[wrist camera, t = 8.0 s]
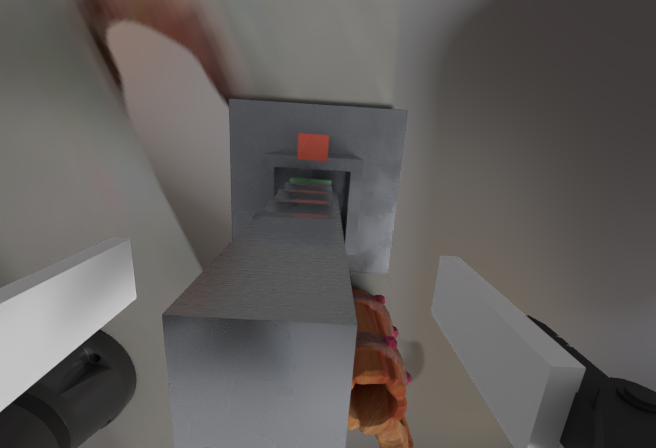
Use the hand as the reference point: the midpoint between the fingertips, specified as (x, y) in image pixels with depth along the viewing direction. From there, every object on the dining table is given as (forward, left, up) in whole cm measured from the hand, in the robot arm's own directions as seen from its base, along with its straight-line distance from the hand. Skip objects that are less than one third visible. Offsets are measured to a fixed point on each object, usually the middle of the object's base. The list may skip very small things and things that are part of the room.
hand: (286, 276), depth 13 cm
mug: (+7, -17, -22) cm, 29 cm away
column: (0, 0, -13) cm, 14 cm away
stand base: (0, 0, -22) cm, 22 cm away
